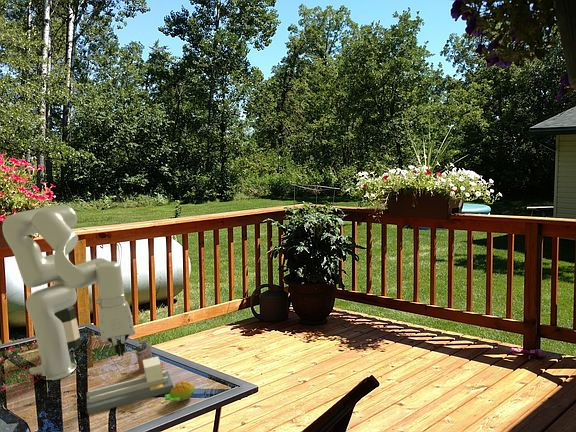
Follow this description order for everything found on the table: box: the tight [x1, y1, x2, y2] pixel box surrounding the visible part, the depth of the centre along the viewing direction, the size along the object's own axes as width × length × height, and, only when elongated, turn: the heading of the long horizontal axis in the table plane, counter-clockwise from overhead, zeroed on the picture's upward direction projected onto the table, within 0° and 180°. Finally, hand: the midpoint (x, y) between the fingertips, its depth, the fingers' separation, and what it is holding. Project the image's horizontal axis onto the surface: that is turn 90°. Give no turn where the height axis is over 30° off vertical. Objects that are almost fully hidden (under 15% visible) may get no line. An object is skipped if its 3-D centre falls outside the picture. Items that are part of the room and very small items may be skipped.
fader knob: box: [143, 356, 163, 383], centre depth 177 cm, size 5×7×6 cm
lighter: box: [135, 337, 153, 374], centre depth 193 cm, size 8×3×10 cm, turn 168°
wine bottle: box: [55, 305, 82, 349], centre depth 221 cm, size 8×8×30 cm
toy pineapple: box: [164, 380, 196, 403], centre depth 166 cm, size 7×10×5 cm
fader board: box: [86, 370, 174, 415], centre depth 175 cm, size 26×12×4 cm, turn 110°
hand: (120, 354), depth 178 cm, fingers closed
